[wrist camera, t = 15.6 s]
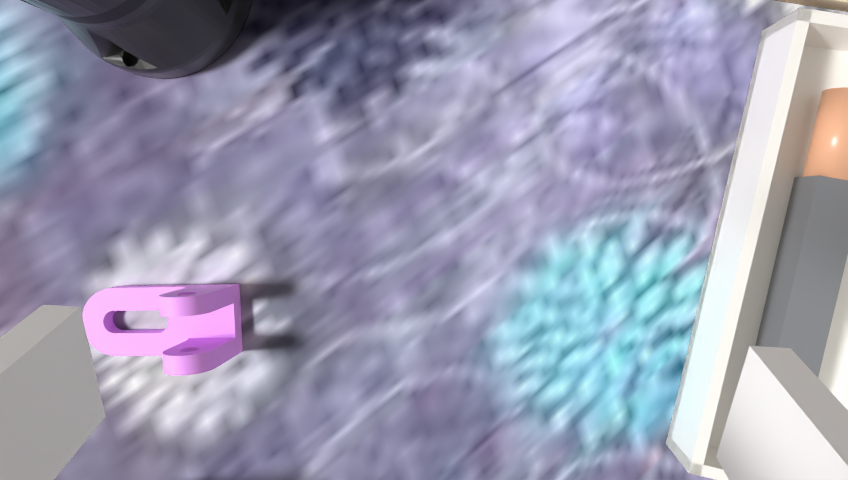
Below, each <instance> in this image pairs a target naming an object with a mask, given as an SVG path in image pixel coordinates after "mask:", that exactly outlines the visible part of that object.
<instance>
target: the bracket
mask: <svg viewBox="0 0 848 480" xmlns="http://www.w3.org/2000/svg"><path fill="white" fill-rule="evenodd" d="M132 310H159V311H160V315H161V316H165V317H167V318H168V326H167V328H166V329H165V330H121V329H119V328H117V327H116V326H115V324H114V322H113V315H114V313H115V311H132ZM82 317H83V322H84V326H85V330H86V334H87V339H88V341H89V342H90V343H91V345H92V346H93V347H94V348H96V349H97V350H98V351H100V352H102V353H104V354H107V355H112V356H163V371H164V373H165V374H168V375H191V374H198V373H203V372H206V371H210V370H212V369H214V368H216V367H218V366H219V365H221V364H223V363H224V362H226V361H228V360H229V359H231V358H232V357H234V356H236V355H237V354H239V353H241V352H242V351H243V347H242V327H241V307H240V286H239V284H205V285H149V286H117V287H112V288H107V289H103V290H101V291H99V292H97V293H95V294H94V295H93V296H92V297H91V298H90V299H89V300H88V302H87V303H86V305H85V307H84V310H83V314H82Z"/></svg>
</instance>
